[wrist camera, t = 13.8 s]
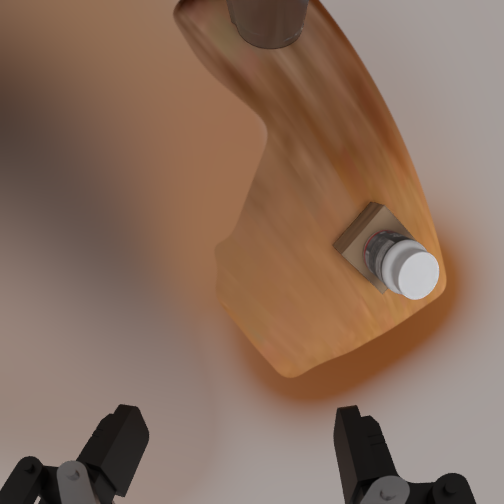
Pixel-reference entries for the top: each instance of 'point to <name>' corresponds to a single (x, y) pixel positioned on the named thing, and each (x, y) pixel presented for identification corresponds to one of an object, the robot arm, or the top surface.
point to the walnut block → (361, 231)
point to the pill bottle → (401, 264)
